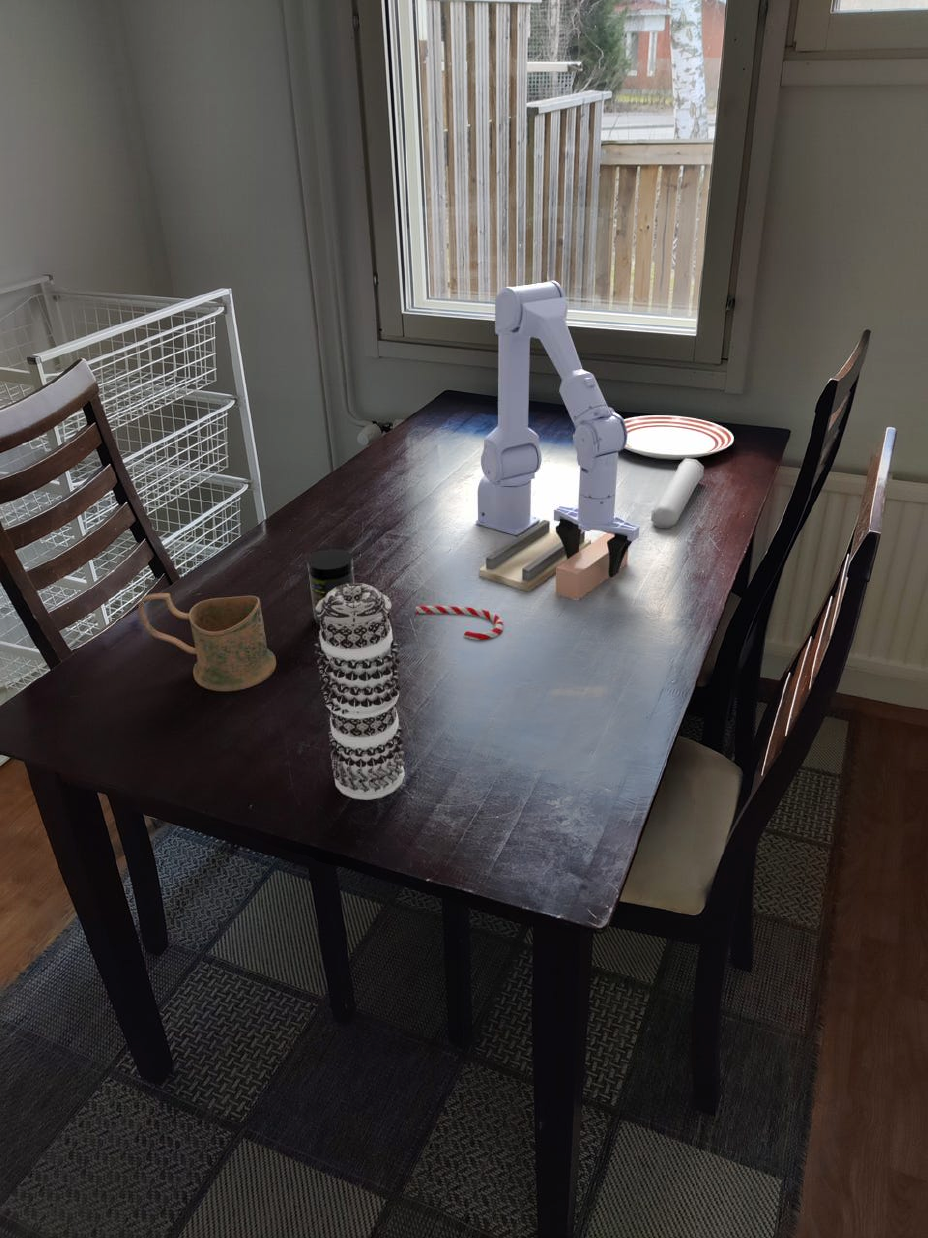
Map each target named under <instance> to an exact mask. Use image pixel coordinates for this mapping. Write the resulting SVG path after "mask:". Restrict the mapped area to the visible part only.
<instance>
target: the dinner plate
mask: <svg viewBox="0 0 928 1238" xmlns="http://www.w3.org/2000/svg"><path fill="white" fill-rule="evenodd" d="M623 420H624V422H625V425H626V428H627V434H628V437H627V443H626V445H625V447H624V448H623V449H625V450H628V451H631V452H632V453H636V454H639V455H641V456H644V457H647V458H653V459H659V460H668V461H669V460H670V461H673V460H674V461H675V460H677V461H679V460H682V461H683V460H684V459H686V458H687V459H695V458H696V459H697V458H700V457H704V456H710V455H712V454H715V453H719V452H720V451H724V450H725V449H727V448H728V447H730V446H731V445H733V443H734V440H735V439H734V435H733V433H732V432H731V431H730V430H728V429H727V428H726V427H723V426H722V425H721V424H720V425H719V424H717V423H715V422H711V421H708V420H703V419H698V418H694V417H688V416H681V415H680V416H679V415H661V414H660V415H659V414H658V415H657V414H656V415H655V414H654V415H640V416H633V417H628V418H625V419H624V418H623Z"/></svg>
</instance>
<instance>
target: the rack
mask: <svg viewBox="0 0 928 1238" xmlns="http://www.w3.org/2000/svg"><path fill="white" fill-rule="evenodd" d="M550 523H551V522H550V520H547V519H543V520H540V521H539V522H537V523H536V524H534V525H533V526H531V527H530V528H528V529H526V530H525V531H523V532H522V533H520V534H519V535H517V537H515V538H514V539H512V540H511V541H509V542H507V543H506V544H505V545H503V546H501V547H500V548H498V549H497V550H496V551H494V552H492V553H490V554H489V555H488V556H486V557H485V564H484V565H483V566H481V567H480V568H479V569H478V576H480V577H482V578H484V579H487V580H492V581H495V582H497V583H500V584H504V585H506V586H510V587H513V588H515V589H519V590H522V591H526V592H531V591H533V589H536V587H538V586H540V584H542V583H544V581H546V580H547V579H549V578H550V577H551V576H553V575H554V574H556V567H557V566H559V565H560V564H562V563H563V562H565V561H566V560H567V556H566V552H565V549H564V546H563V544H562V541H561V539H560V537H559V536H558V534H557V533H556V529H552V528H550V527H551V526H550V525H551V524H550ZM585 537H586V531H584V530H581V535H580V541H579V551H581V550H582V549H584V548H585V547H587V546H588V545H590V544H591V543H592V540H591V539H589V538H585Z"/></svg>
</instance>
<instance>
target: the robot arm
mask: <svg viewBox="0 0 928 1238" xmlns="http://www.w3.org/2000/svg"><path fill="white" fill-rule="evenodd" d="M568 305H569V303H568V301H567V298H566V294H565V291H564V289H563V287H562V286H561V285H560V283H559V282H557V281H556V280H548V281H546V282H541V283H534V284H527V285H519V286H506V287H504V288H502V289H501V290H500V291H499V293H498V294H497V295H496V296H495V299H494V332H495V334H496V335H498V348H497V349H498V354H497V355H498V360H497V361H498V365H497V366H498V368H497V369H498V373H497V374H498V376H497V377H498V378H497V381H498V384H497V387H498V388H497V389H498V391H497V392H498V393H497V396H498V397H497V400H498V401H497V413H498V415H497V426H496V427H495V428H494V429H493V430H492V431H491V432H490V433H488V435H486V437H485V438H484V439H483V450H482V453H481V456H480V467H481V470H482V473H483V476H482V477H481V479H480V481H479V483H478V486H477V520H475V525H478V526H482V527H486V528H488V529H489V528H490V529H493V530H496V531H499V532H503V533H506V534H507V533H508V534H510V535H514V536H520V535H521V534H523V533H524V532H526V531H527V530H529V529H530V528H532V527H534V526H535V525H537V524H538V523H540V522H541V519H540V518H539V517H537V516H533V515H531V511H532V510H531V509H532V508H531V505H532V499H531V497H532V480H533V479H535V478H536V477H535V476H536V475H535V474H536V473H537V472H538V471H539V470H540V469H541V466H542V462H543V460H542V459H543V458H542V452H541V448H540V436H539V435H538V434H537V433H536V432H535V431H534V430H533V429H531V428H530V427H529V400H530V399H529V396H530V395H529V394H530V393H529V391H530V388H529V387H530V348H531V347H530V346H531V345H530V343H531V338H534V339H538V340H539V341H540V343H541V344H542V346H543V347H544V350H545V351H546V353H547V355H548V357H549V358H550V360H551V362H552V364H553V366H554V368H555V370H556V371H557V373H558V375H559V377H560V379H561V383H560V386H559V390H558V391H559V393H560V396H561V398H562V401H563V403H564V405H565V408H566V410H567V411H568V414H569V417H570V418H571V419H570V420H571V421H572V424H573V426H574V427H575V431H574V433H573V434H572V440H573V445H574V448H575V451H576V462H577V464H578V466H579V484H578V506H577V507H568V506H563V505H559V506H558V507H556V508H555V509H554V510H553V521H556V522H558V525H557V526H555V530H556V533H557V534H558V536H559V537H560V539H561V541H562V544H563V546H564V549H565V552H566V556H567V560H568V559H569V558H571V557H572V556H573V555H575V554H576V553H578V552H579V541H580V535H581V530H583V531H585V532H590V531H600V532H604V533H610V534H614V537H612V538H611V539H610V540H608V541H607V546H608V551H609V571H608V572H609V577H608V578H614V577H615V576H617V575H618V574H619V572H620V570H621V568H620V566H621V563H622V560H623V558H624V555H625V553H626V551H627V550H628V551H629V549H630V546H631V544H633V543H632V542H635V540H637V539H638V538H639V536H640V525H636V524H633V523H631V522H629V521H627V520H625V519H622V518H621V517H619V516H616V515H615V507H616V506H615V505H616V491H617V490H616V489H617V476H618V475H617V474H618V462H619V451H623V449H625V448H624V447H625V445H626V443H627V437H628V434H627V428H626V425H625V422H624V418H623V417H622V416H621V415H620V414H618V413H617V412H615V410H614V408H612V407H609V405H608V404H607V401H606V400H605V398H604V395H603V393H602V391H601V388H600V387H599V384H598V382H597V379H596V377H595V375H594V373H591V372H589V371H586V370H584V369H583V366H582V363H581V360H580V357H579V354H578V352H577V350H576V347H575V343H574V341H573V338H572V335H571V333H570V332H571V331H570V330H569V326H568V323H567V321H566V319H567V315H568V310H569V309H568V308H569V306H568Z"/></svg>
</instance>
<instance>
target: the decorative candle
mask: <svg viewBox="0 0 928 1238" xmlns="http://www.w3.org/2000/svg"><path fill="white" fill-rule="evenodd" d="M392 605H393V604H392V602H391V599H390V598H389V597H388V596H387V595H385V594H384V593H383V592H380V590H378V589H377V588H375V587H374V586H372V585H369V584H367V583H360V582H359V583H358V582H354V583H351V584H344V585H341V586H338V587H335V588H334V589H332V590H331V591H329V592H328V594H327V595H326V597H325V598H323V599H322V600H320V601H319V603H318V604H317V606H316V608H315V609H316V615H317V616H318V617H319V620H320V625H319V626H320V630H319V631H318V633H319V636H318V639H319V640H317V641H316V642H314V646H315V647H316V649H315V651H314V655H315V656H316V657H317V659H316V663H317V664H318V671H319V673H320V677H319V681H320V683H322V684H321V686H320V687H321V690H322V691H323V692H322V695H323V696H322V697H323V698H324V704H325V706H326V707H327V708H328V709H329V710H330V717H329V724H330V730H329V731H328V734H327V735H328V737H329V747H330V749H331V750H330V759H331V767H332V768H331V769H332V771H333V778H334V783H335V787H336V788H337V789H338V791H340V793H341V794H343V795H345V796H347V797H349V798H352V799H354V800H366V801H368V800H374V799H381V798H383V797H386V796H388V795H390V794H392V793H394V792H395V791H396V790H397V789H398V788H399V787H400V786H401V785H402V784H403V782H404V778H405V775H406V773H405V772H406V771H405V769H404V766H405V765H406V763H405V761H403V757H404V755H405V752H404V751H403V750H402V748H403V743H404V739H403V738H402V733H403V728H402V727H401V721H400V720H399V715H398V711H397V701H398V699H399V696H400V691H399V690H401V686H400V684H399V678H400V672H399V671H398V667H399V664H400V663H401V660H400V658H399V657H398V654H399V650H400V646H399V644H397V642H396V640H395V639H394V638H393V630H392V629H393V628H392V626H391V623H390V613H389V612H390V610H391V608H392V607H393V606H392ZM323 652H324V653H323Z"/></svg>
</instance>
